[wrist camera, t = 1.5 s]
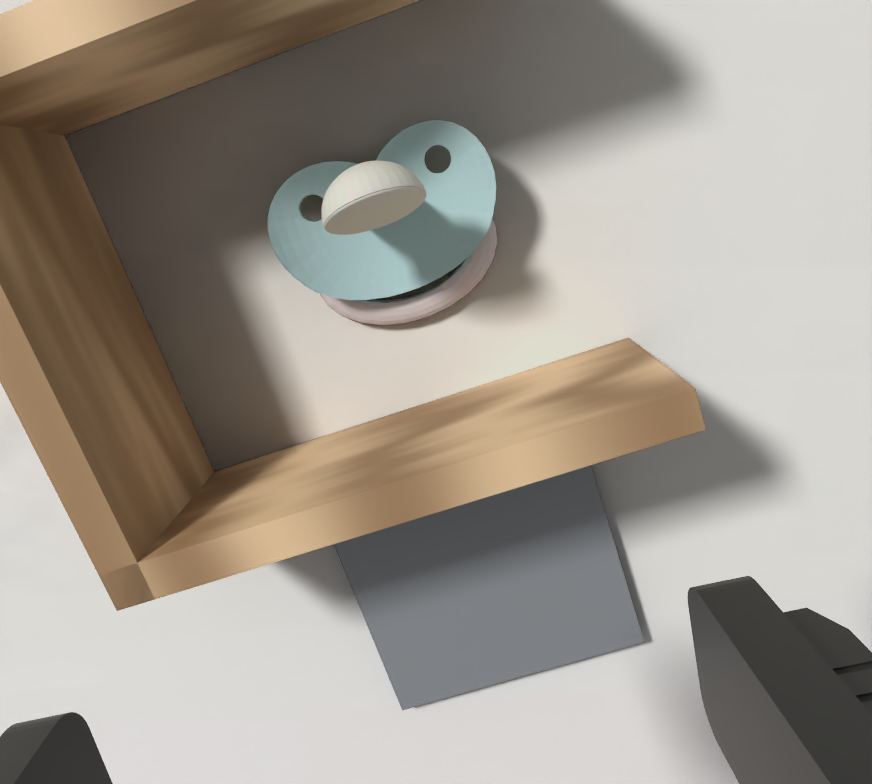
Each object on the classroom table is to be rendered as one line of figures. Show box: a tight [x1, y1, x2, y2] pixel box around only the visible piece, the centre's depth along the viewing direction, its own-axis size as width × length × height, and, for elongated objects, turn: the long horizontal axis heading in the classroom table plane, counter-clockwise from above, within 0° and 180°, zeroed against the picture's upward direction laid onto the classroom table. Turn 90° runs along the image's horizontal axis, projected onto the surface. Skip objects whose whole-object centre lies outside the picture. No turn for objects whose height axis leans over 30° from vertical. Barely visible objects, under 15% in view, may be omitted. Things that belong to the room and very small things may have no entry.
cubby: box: [0, 0, 706, 611], centre depth 21 cm, size 17×15×7 cm
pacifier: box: [268, 120, 497, 325], centre depth 22 cm, size 7×6×6 cm
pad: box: [334, 465, 644, 710], centre depth 28 cm, size 10×10×1 cm
